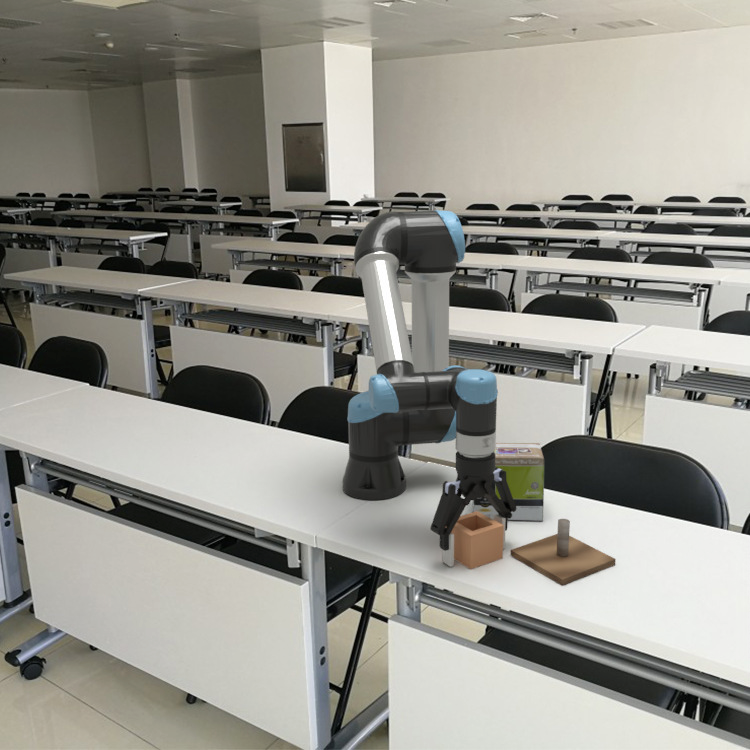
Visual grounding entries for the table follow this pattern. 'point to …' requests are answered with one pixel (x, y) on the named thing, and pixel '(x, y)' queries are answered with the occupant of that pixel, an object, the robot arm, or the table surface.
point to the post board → (562, 556)
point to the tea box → (519, 480)
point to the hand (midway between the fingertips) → (473, 554)
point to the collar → (477, 540)
